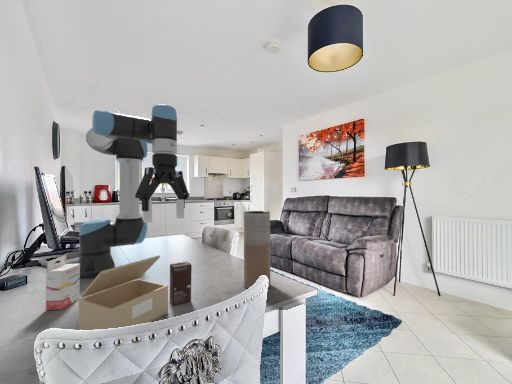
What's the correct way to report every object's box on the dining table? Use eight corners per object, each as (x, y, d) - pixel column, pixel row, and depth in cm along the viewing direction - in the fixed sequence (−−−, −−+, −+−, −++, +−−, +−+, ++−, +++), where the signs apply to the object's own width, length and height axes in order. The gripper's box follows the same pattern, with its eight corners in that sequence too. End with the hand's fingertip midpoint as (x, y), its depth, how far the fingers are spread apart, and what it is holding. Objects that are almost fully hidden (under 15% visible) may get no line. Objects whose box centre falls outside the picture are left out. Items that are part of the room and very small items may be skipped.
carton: (78, 331, 62) (78, 299, 62) (138, 304, 77) (138, 278, 77) (110, 345, 56) (110, 310, 56) (168, 313, 71) (168, 285, 71)
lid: (81, 297, 62) (80, 295, 62) (140, 277, 77) (139, 275, 77) (101, 273, 58) (100, 271, 58) (160, 257, 73) (159, 255, 73)
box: (173, 306, 75) (173, 267, 75) (169, 301, 79) (169, 263, 79) (192, 301, 79) (192, 264, 79) (187, 296, 82) (187, 261, 83)
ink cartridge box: (62, 310, 74) (62, 260, 74) (45, 310, 73) (45, 261, 73) (80, 298, 82) (80, 254, 82) (65, 298, 82) (65, 254, 82)
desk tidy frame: (38, 264, 123) (38, 259, 123) (82, 255, 141) (82, 251, 141) (59, 269, 114) (59, 264, 114) (103, 259, 132) (103, 254, 132)
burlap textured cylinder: (239, 288, 89) (239, 212, 89) (250, 279, 98) (249, 210, 99) (265, 292, 85) (264, 213, 86) (273, 282, 95) (273, 211, 95)
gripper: (139, 146, 66) (140, 224, 66) (198, 158, 89) (199, 217, 88) (121, 148, 69) (121, 223, 69) (182, 160, 92) (183, 216, 92)
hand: (165, 220), depth 79 cm, fingers open, 13 cm apart
